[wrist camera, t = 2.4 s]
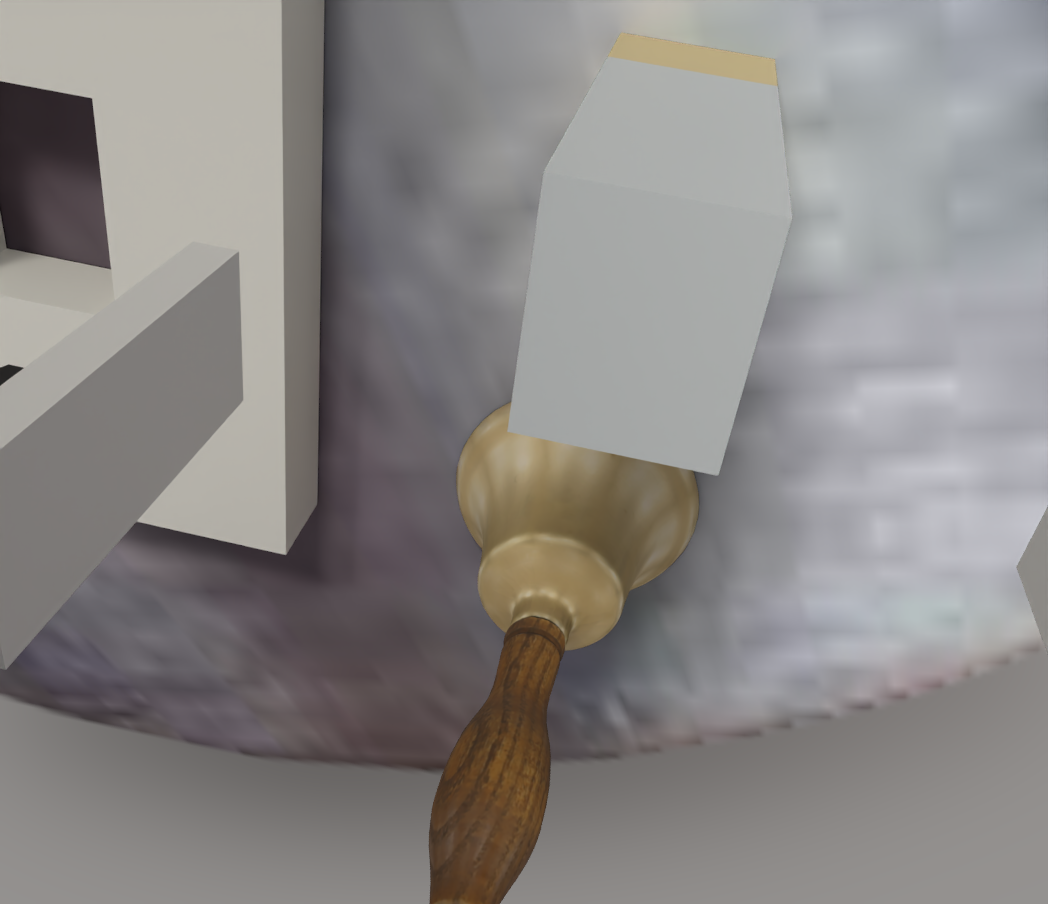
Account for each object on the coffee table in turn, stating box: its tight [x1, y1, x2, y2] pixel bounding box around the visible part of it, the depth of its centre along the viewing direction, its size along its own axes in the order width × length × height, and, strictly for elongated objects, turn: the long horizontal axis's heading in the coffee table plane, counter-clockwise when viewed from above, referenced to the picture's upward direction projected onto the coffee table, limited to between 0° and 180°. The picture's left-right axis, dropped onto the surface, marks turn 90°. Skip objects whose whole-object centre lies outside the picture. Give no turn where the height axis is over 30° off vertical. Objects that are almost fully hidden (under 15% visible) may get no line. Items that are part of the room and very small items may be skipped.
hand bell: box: [429, 402, 699, 904], centre depth 28 cm, size 8×8×16 cm
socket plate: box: [0, 0, 324, 555], centre depth 29 cm, size 22×16×4 cm
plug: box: [507, 33, 792, 476], centre depth 22 cm, size 5×4×12 cm
